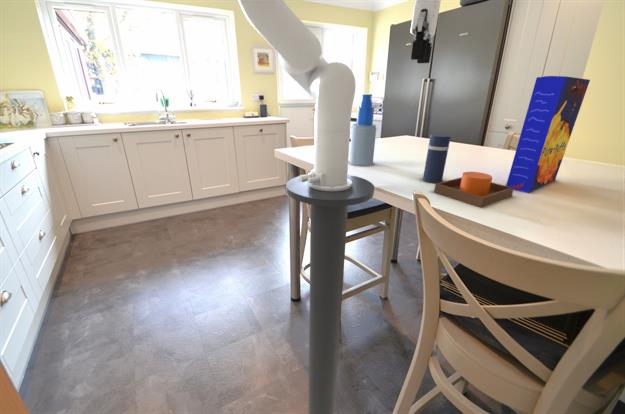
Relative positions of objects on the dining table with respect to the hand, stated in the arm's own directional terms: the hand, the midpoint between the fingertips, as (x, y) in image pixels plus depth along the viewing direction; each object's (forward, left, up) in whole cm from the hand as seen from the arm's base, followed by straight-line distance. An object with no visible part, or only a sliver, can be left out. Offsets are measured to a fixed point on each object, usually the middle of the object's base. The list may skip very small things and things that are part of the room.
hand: (420, 61), depth 74 cm
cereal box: (+34, -21, -34) cm, 52 cm away
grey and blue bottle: (+6, +26, -34) cm, 43 cm away
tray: (+8, -17, -33) cm, 38 cm away
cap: (+8, -17, -33) cm, 38 cm away
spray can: (+10, -3, -33) cm, 35 cm away
